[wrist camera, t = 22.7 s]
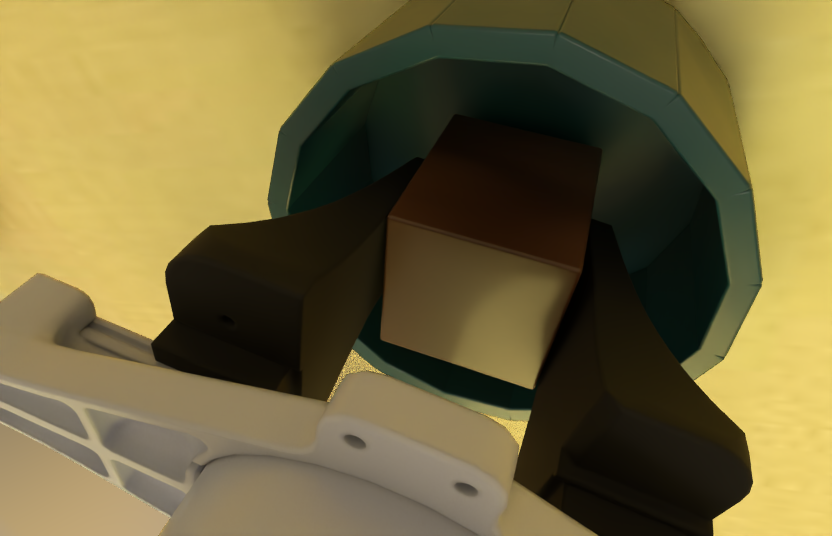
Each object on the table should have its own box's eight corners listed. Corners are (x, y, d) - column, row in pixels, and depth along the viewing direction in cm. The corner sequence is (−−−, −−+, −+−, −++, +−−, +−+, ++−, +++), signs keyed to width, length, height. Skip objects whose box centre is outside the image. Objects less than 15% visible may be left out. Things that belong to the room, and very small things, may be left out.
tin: (295, 47, 17) (185, 123, 13) (701, -135, 11) (722, -96, 7) (435, 311, 22) (387, 418, 18) (752, 280, 16) (779, 428, 13)
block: (437, 227, 17) (378, 340, 14) (454, 111, 14) (385, 215, 11) (562, 262, 16) (534, 391, 13) (603, 147, 14) (582, 271, 10)
